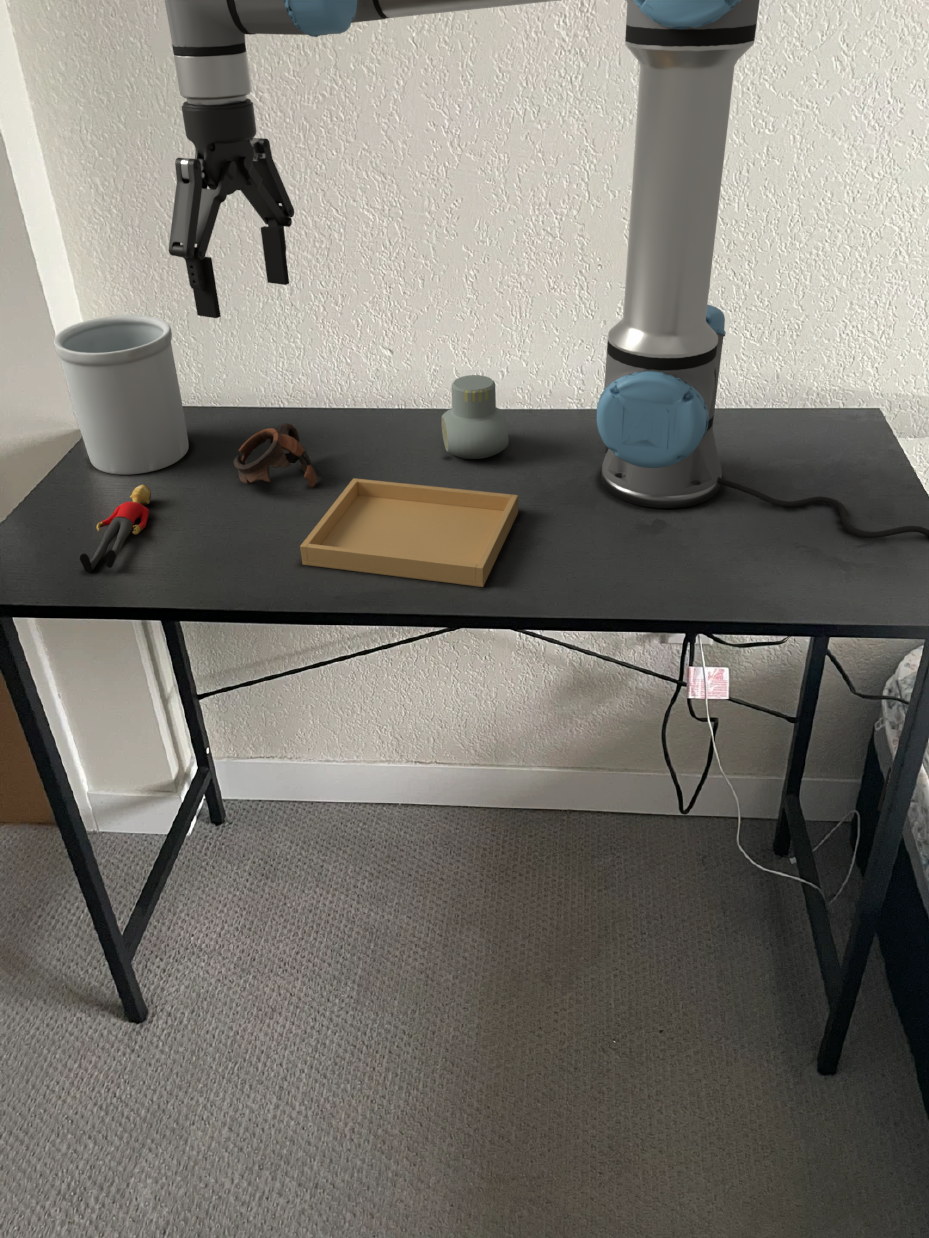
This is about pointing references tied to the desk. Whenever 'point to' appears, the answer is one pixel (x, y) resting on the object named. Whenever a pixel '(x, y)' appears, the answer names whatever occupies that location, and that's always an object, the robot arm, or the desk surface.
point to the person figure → (120, 527)
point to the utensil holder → (125, 392)
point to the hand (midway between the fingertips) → (245, 299)
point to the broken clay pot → (274, 455)
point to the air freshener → (474, 420)
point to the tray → (412, 532)
